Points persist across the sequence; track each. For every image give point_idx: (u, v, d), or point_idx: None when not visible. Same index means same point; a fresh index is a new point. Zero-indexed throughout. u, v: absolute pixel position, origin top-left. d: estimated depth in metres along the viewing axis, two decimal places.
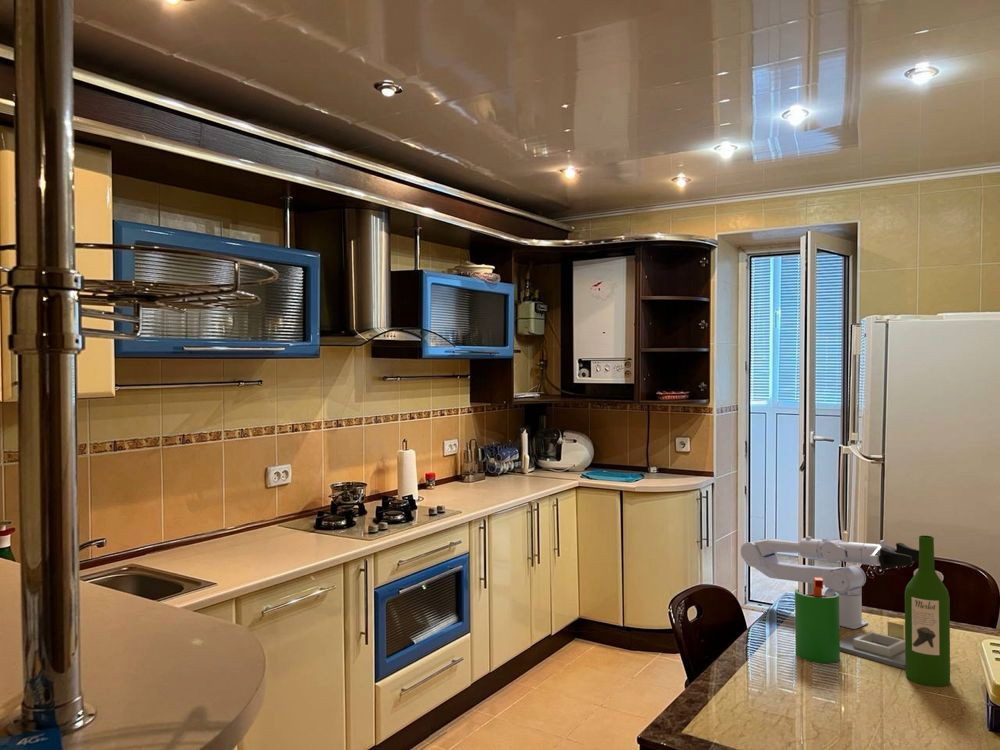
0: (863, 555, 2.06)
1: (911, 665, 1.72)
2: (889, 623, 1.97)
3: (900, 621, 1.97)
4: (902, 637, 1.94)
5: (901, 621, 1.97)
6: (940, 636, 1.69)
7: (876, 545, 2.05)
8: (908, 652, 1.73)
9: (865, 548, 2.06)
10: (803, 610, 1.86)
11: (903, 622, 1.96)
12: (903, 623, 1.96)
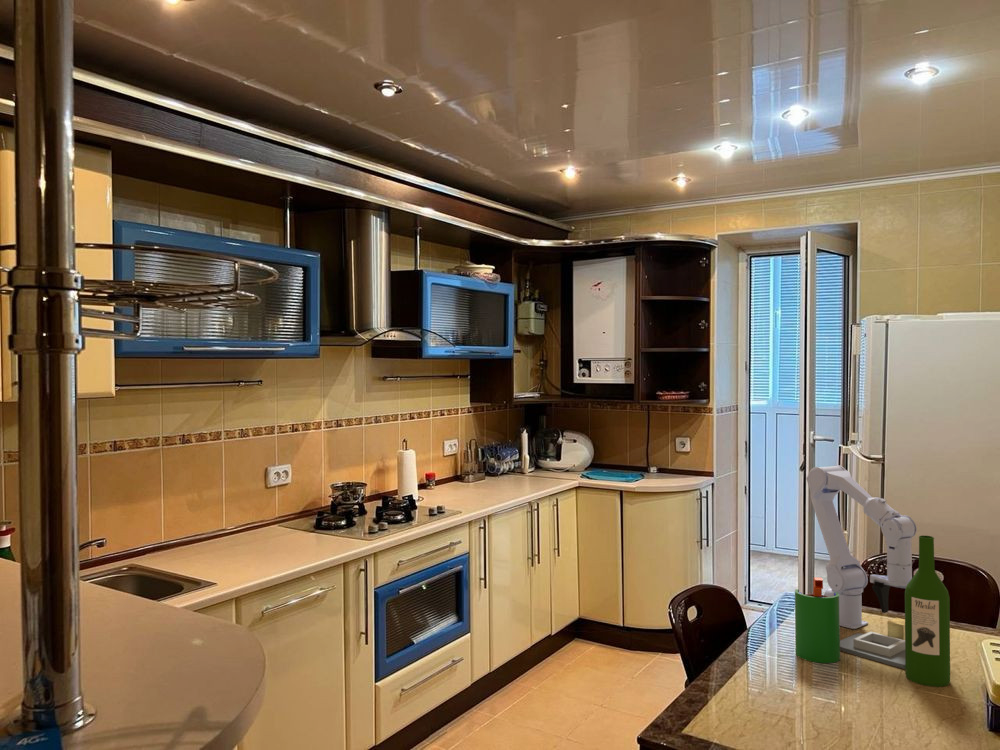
0: None
1: (911, 665, 1.72)
2: (889, 623, 1.97)
3: (900, 621, 1.97)
4: (902, 637, 1.94)
5: (901, 621, 1.97)
6: (940, 636, 1.69)
7: (891, 577, 1.96)
8: (908, 652, 1.73)
9: (887, 566, 1.98)
10: (803, 610, 1.86)
11: (903, 622, 1.96)
12: (903, 623, 1.96)
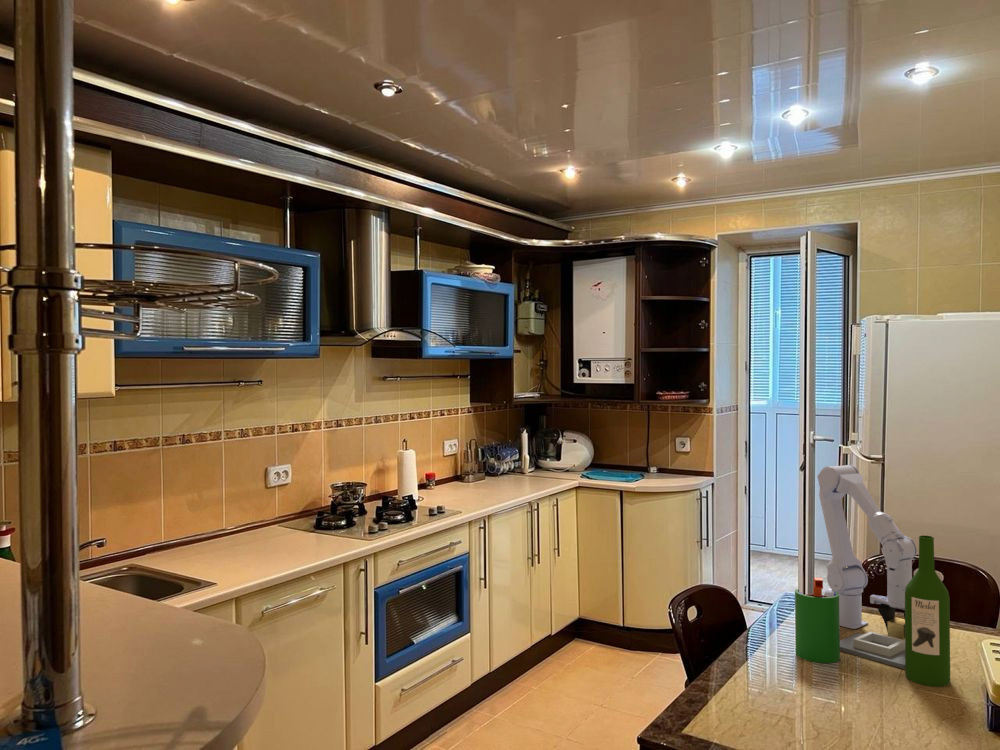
0: None
1: (911, 665, 1.72)
2: (889, 623, 1.97)
3: (900, 621, 1.97)
4: (902, 637, 1.94)
5: (901, 621, 1.97)
6: (940, 636, 1.69)
7: (891, 598, 1.96)
8: (908, 652, 1.73)
9: (888, 587, 1.98)
10: (803, 610, 1.86)
11: (903, 622, 1.96)
12: (903, 623, 1.96)
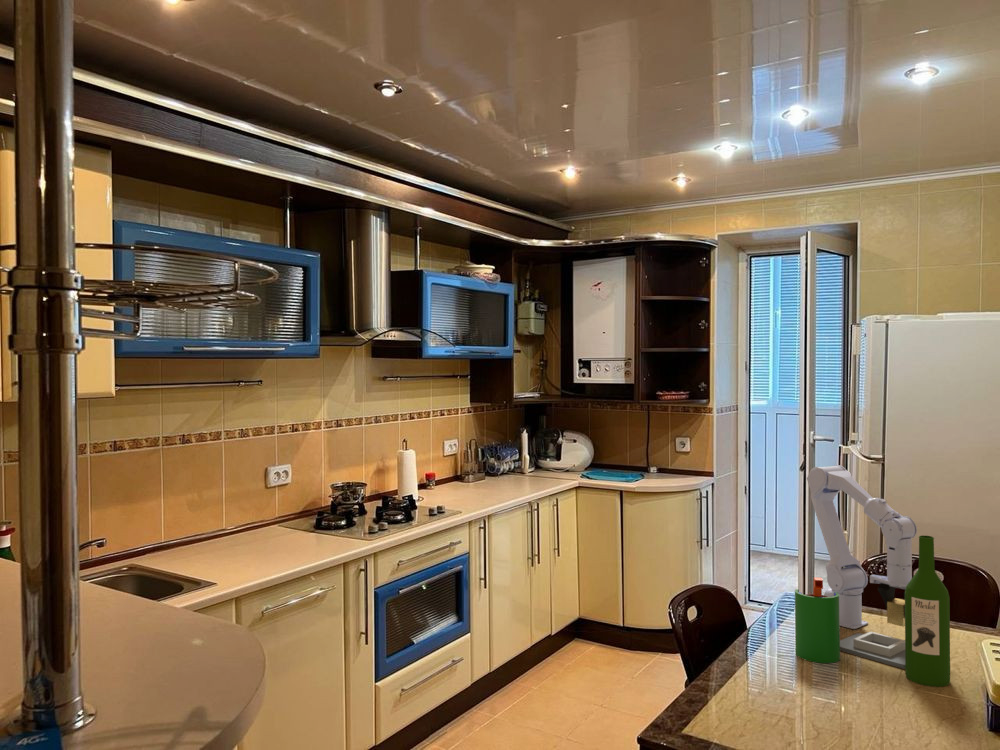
0: None
1: (911, 665, 1.72)
2: (889, 603, 1.97)
3: (900, 602, 1.97)
4: (902, 617, 1.94)
5: (901, 601, 1.97)
6: (940, 636, 1.69)
7: (891, 577, 1.96)
8: (908, 652, 1.73)
9: (887, 566, 1.98)
10: (803, 610, 1.86)
11: (903, 602, 1.96)
12: (903, 603, 1.96)
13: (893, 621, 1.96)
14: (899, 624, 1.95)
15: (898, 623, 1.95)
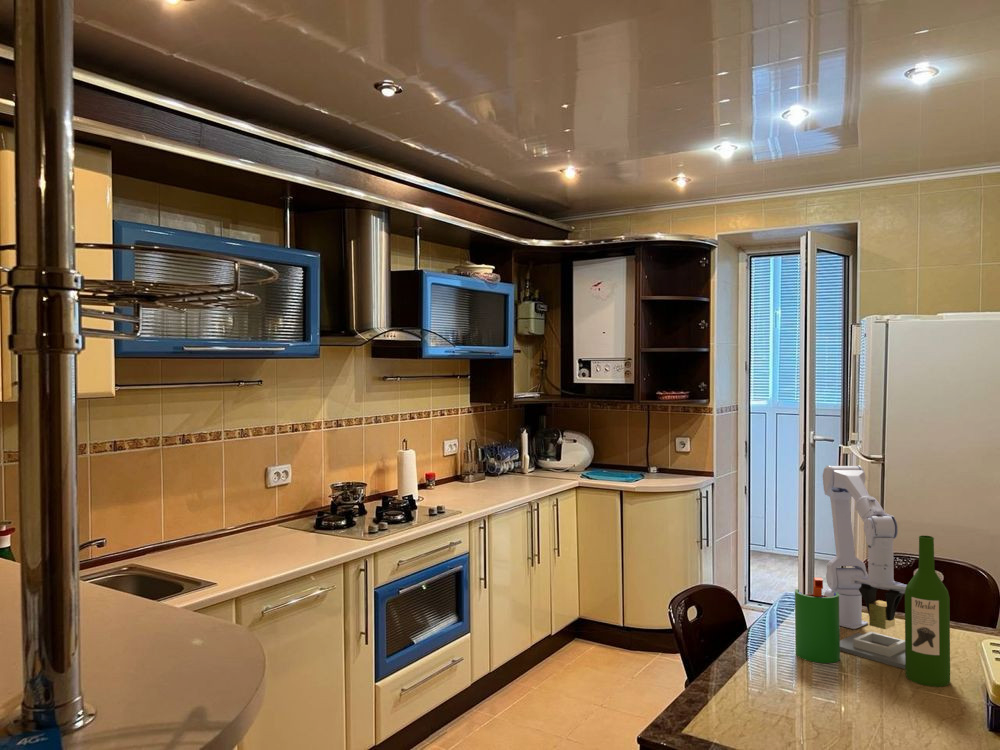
0: None
1: (911, 665, 1.72)
2: (871, 605, 1.91)
3: (882, 604, 1.91)
4: (884, 619, 1.88)
5: (883, 603, 1.91)
6: (940, 636, 1.69)
7: (872, 578, 1.90)
8: (908, 652, 1.73)
9: (869, 566, 1.92)
10: (803, 610, 1.86)
11: (885, 604, 1.90)
12: (885, 605, 1.90)
13: (875, 624, 1.90)
14: (881, 627, 1.89)
15: (880, 626, 1.89)
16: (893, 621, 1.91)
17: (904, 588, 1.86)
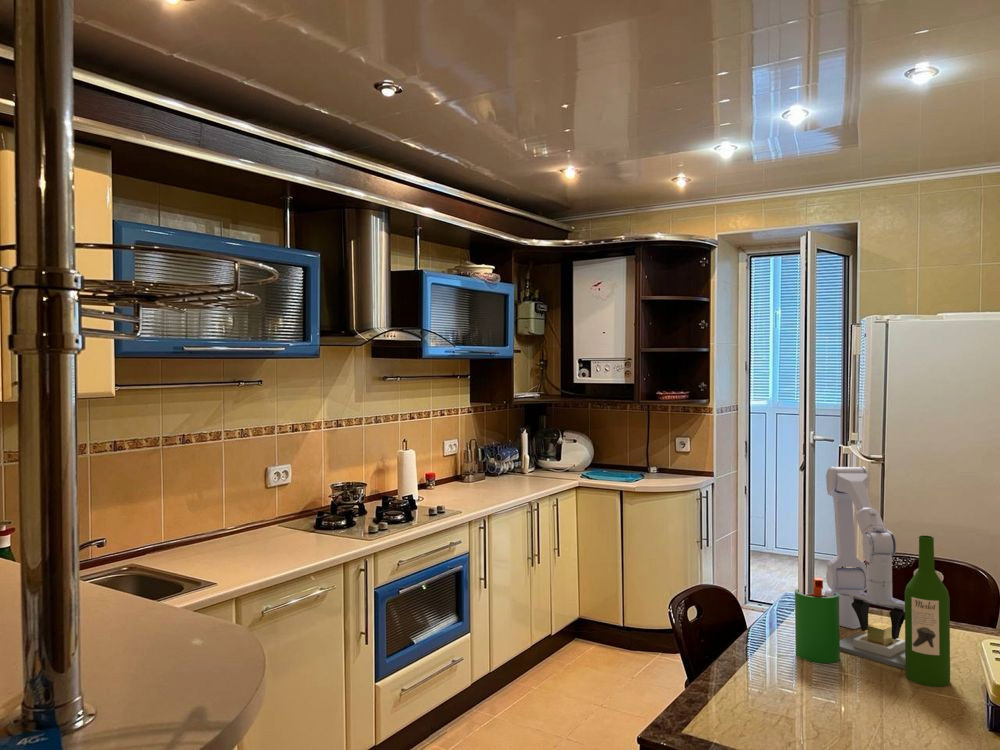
0: None
1: (911, 665, 1.72)
2: (869, 627, 1.90)
3: (880, 626, 1.90)
4: (882, 642, 1.88)
5: (881, 625, 1.91)
6: (940, 636, 1.69)
7: (870, 594, 1.90)
8: (908, 652, 1.73)
9: (867, 583, 1.91)
10: (803, 610, 1.86)
11: (883, 626, 1.90)
12: (883, 627, 1.89)
13: None
14: None
15: None
16: (891, 643, 1.90)
17: (902, 605, 1.85)
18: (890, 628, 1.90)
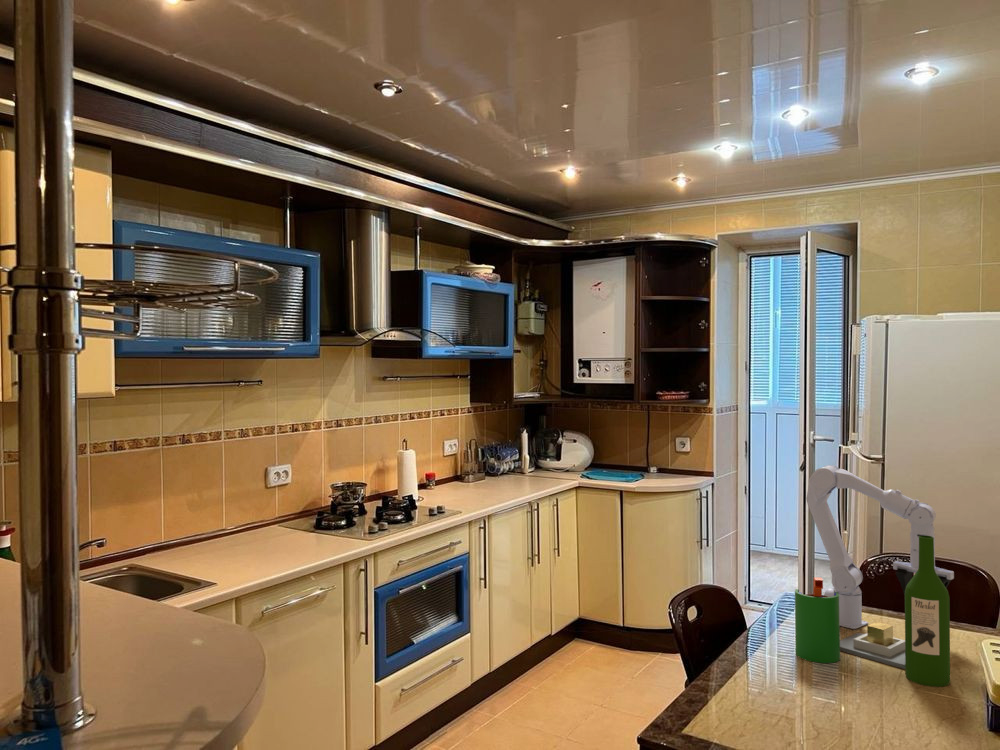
0: None
1: (911, 665, 1.72)
2: (869, 627, 1.90)
3: (880, 626, 1.90)
4: (882, 642, 1.88)
5: (881, 625, 1.91)
6: (940, 636, 1.69)
7: (914, 563, 2.00)
8: (908, 652, 1.73)
9: (911, 553, 2.02)
10: (803, 610, 1.86)
11: (883, 626, 1.90)
12: (883, 627, 1.89)
13: None
14: None
15: None
16: (891, 643, 1.90)
17: (945, 573, 1.96)
18: (890, 628, 1.90)
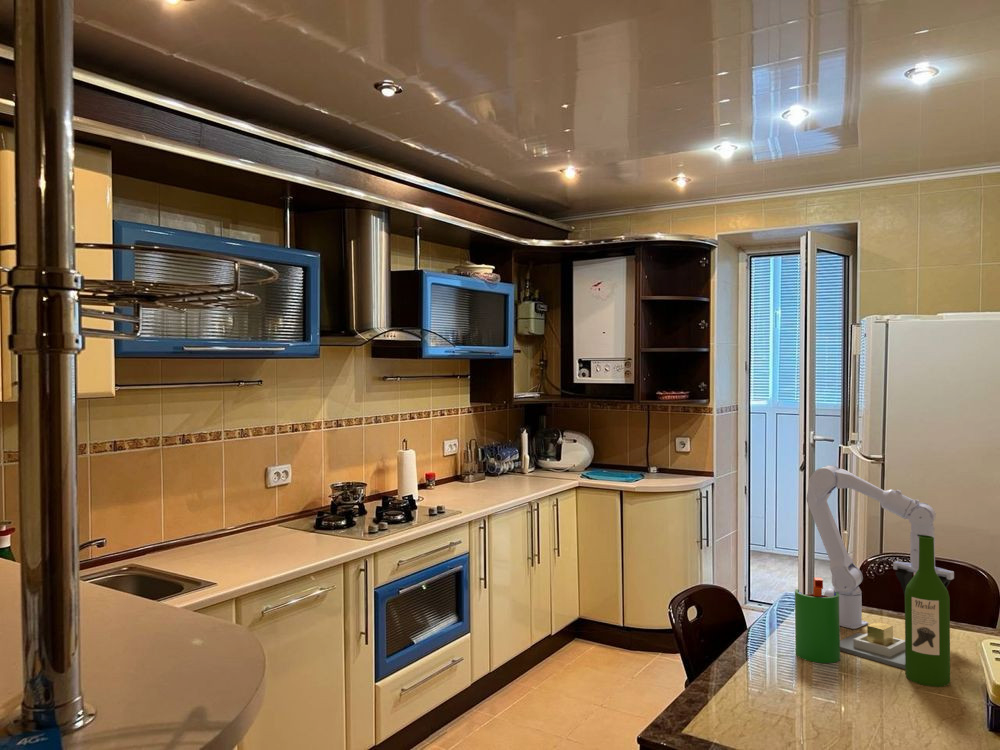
0: None
1: (911, 665, 1.72)
2: (869, 627, 1.90)
3: (880, 626, 1.90)
4: (882, 642, 1.88)
5: (881, 625, 1.91)
6: (940, 636, 1.69)
7: (914, 563, 2.00)
8: (908, 652, 1.73)
9: (911, 553, 2.02)
10: (803, 610, 1.86)
11: (883, 626, 1.90)
12: (883, 627, 1.89)
13: None
14: None
15: None
16: (891, 643, 1.90)
17: (946, 573, 1.96)
18: (890, 628, 1.90)
